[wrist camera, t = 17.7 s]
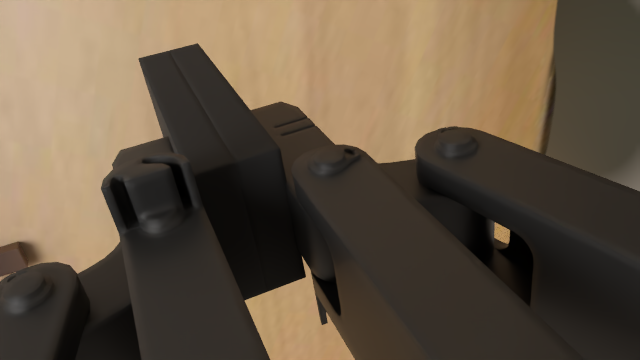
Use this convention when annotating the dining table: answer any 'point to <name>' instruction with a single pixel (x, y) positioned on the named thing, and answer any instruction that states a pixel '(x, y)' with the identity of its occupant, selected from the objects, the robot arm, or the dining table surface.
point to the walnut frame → (12, 259)
